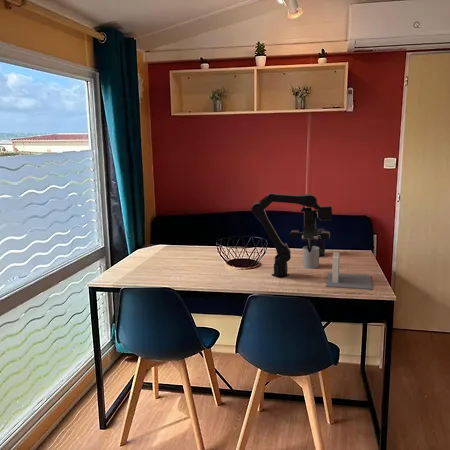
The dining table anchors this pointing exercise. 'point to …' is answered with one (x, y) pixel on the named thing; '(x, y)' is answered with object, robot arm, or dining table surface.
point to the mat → (350, 281)
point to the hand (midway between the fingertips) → (309, 251)
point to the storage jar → (319, 243)
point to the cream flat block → (335, 267)
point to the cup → (311, 257)
